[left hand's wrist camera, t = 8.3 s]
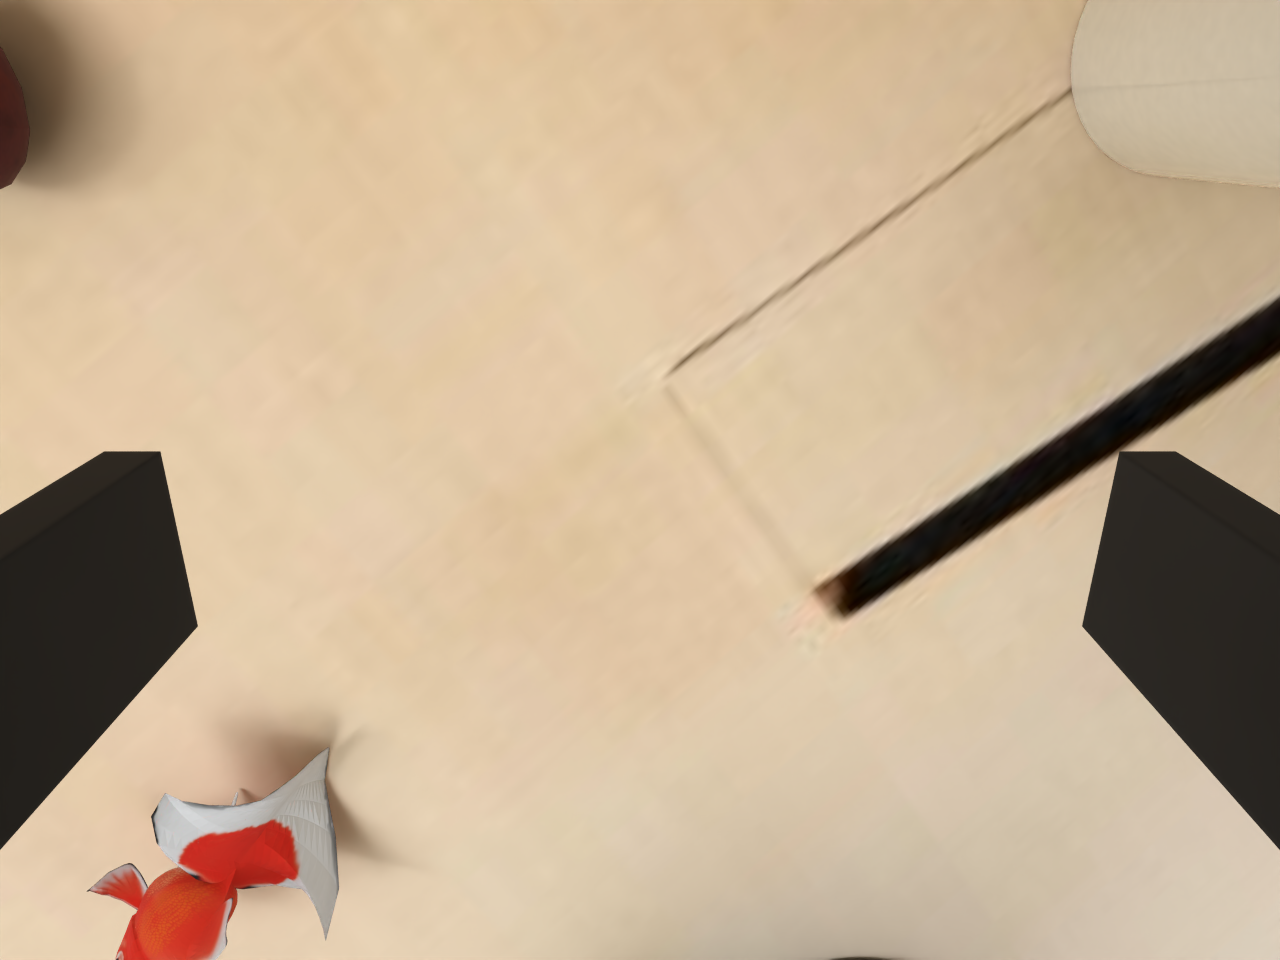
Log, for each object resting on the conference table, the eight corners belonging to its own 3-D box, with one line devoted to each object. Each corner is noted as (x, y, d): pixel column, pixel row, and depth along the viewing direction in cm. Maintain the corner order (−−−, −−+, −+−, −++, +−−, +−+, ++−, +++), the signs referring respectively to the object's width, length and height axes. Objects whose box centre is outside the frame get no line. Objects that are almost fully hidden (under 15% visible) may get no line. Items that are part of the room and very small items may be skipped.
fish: (-3, 854, 45) (-9, 1024, 37) (262, 652, 48) (306, 770, 40) (150, 933, 51) (172, 1091, 44) (373, 751, 55) (429, 868, 47)
